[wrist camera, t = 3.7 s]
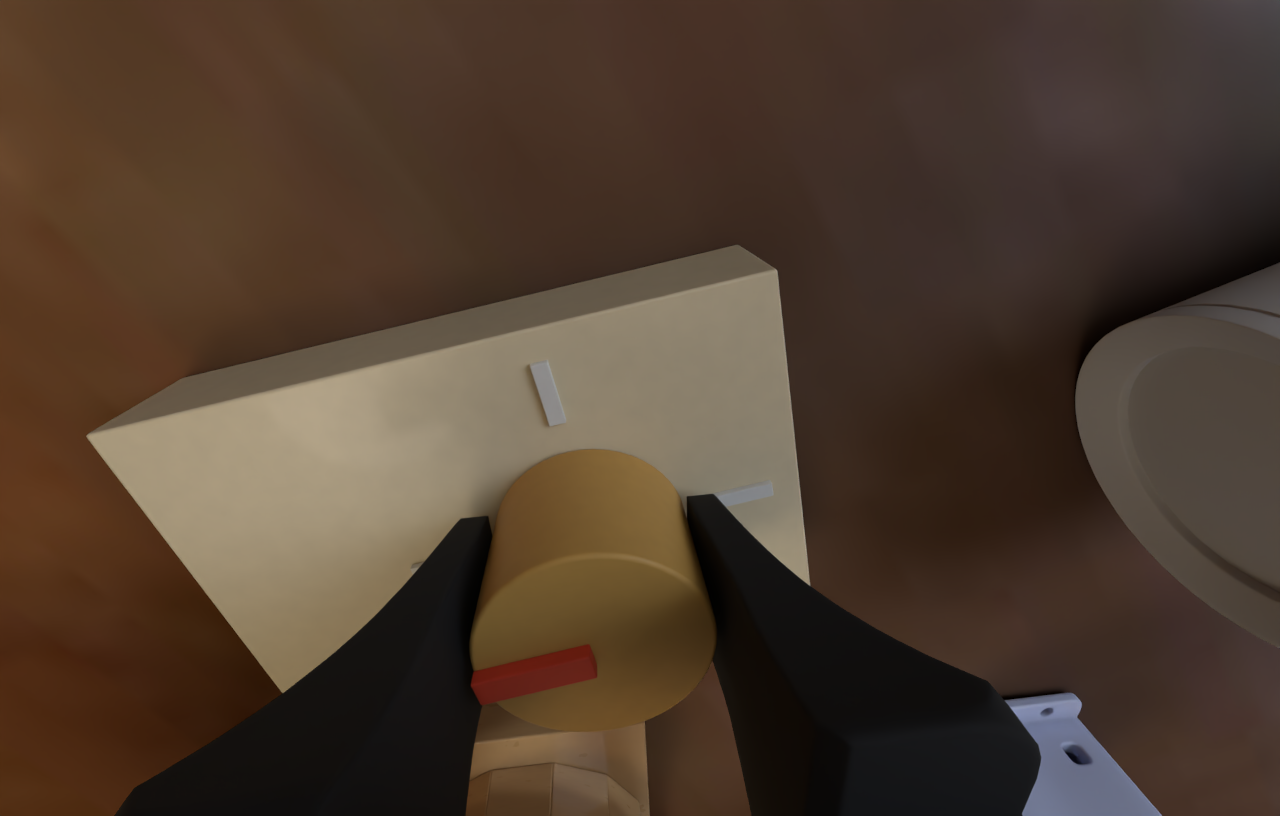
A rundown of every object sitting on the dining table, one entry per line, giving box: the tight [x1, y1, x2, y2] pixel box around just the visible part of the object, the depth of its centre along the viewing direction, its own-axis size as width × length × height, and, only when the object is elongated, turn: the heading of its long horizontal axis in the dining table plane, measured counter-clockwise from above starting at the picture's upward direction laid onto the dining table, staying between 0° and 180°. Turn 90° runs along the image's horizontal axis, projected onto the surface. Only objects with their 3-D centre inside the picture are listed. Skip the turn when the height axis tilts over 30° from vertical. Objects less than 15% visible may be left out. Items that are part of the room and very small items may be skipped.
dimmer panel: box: [87, 245, 810, 693], centre depth 14 cm, size 14×10×3 cm
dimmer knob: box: [469, 449, 717, 732], centre depth 11 cm, size 4×4×4 cm
